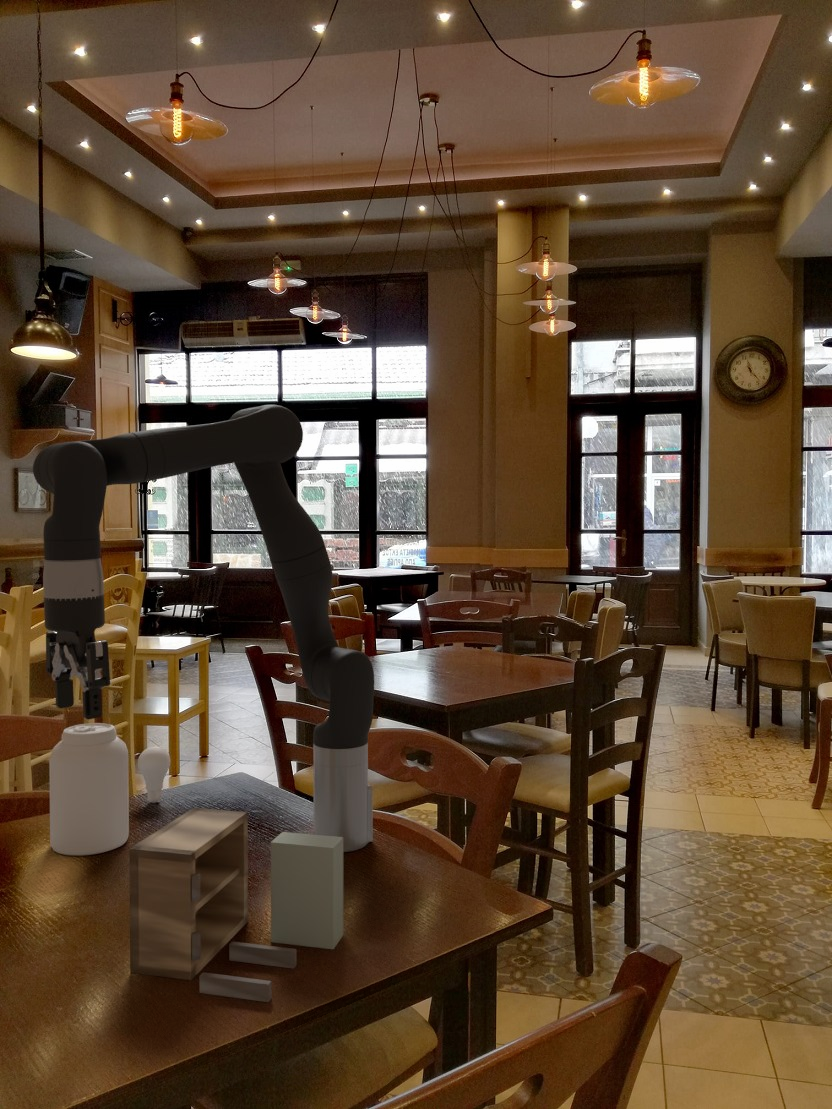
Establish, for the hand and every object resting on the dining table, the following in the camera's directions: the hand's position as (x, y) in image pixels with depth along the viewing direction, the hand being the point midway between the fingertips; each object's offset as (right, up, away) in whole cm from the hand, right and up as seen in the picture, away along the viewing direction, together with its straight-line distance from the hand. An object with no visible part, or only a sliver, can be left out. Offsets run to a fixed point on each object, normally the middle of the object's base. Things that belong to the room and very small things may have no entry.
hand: (78, 712), depth 117 cm
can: (-10, -28, +31) cm, 43 cm away
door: (+31, -29, -4) cm, 43 cm away
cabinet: (+22, -29, -8) cm, 37 cm away
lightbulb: (-6, -28, +53) cm, 60 cm away
